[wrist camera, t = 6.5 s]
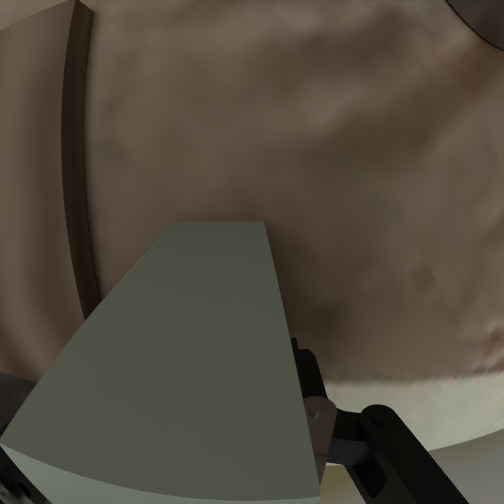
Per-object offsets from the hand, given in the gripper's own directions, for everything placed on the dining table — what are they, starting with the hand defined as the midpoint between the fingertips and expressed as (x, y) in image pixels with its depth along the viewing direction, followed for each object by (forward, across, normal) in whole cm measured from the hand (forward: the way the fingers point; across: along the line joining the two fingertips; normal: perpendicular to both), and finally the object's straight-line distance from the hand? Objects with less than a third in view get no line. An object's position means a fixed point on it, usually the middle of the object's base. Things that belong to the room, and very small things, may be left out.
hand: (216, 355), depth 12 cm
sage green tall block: (+3, 0, 0) cm, 3 cm away
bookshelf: (+3, +14, -5) cm, 15 cm away
